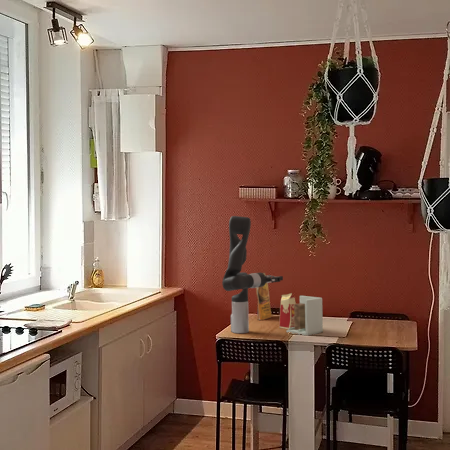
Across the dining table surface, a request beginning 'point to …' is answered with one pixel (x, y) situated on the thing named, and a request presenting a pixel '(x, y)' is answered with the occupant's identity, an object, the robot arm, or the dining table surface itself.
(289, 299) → the red cream food bag
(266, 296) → the pancake mix bag
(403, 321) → the dining table surface
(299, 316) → the brown wooden block
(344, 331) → the dining table surface
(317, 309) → the cabinet frame
